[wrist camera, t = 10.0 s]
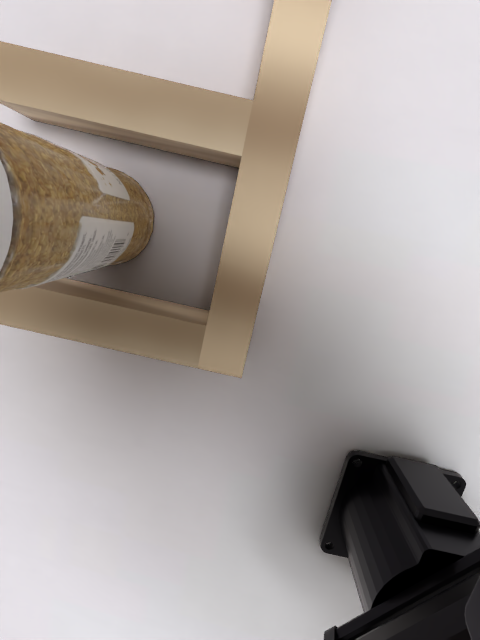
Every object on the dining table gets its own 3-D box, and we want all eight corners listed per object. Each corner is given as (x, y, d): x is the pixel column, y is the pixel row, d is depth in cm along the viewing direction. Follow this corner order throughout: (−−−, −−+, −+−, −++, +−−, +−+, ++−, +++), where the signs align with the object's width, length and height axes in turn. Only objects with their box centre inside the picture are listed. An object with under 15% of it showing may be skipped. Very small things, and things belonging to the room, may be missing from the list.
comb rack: (243, 356, 20) (241, 378, 17) (18, 305, 19) (-25, 318, 16) (352, -106, 15) (376, -188, 12) (59, -177, 15) (11, -277, 12)
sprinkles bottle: (137, 157, 18) (-170, -60, 4) (167, 252, 19) (-10, 304, 5) (46, 184, 18) (-491, 58, 5) (81, 276, 19) (-283, 381, 6)
